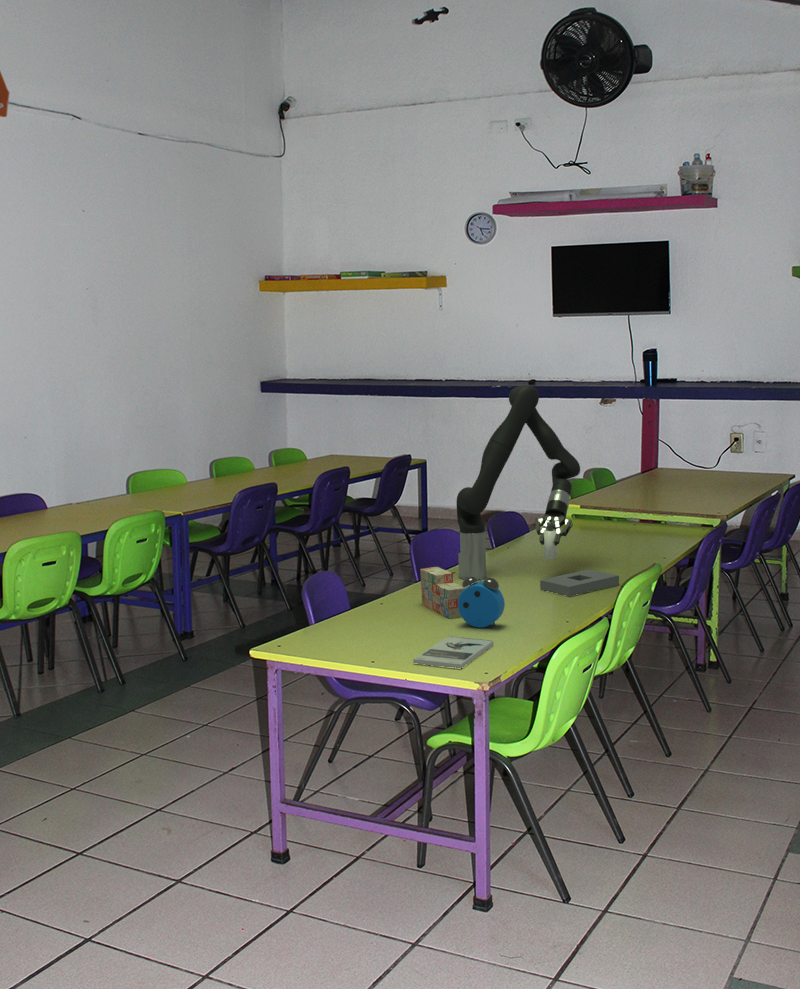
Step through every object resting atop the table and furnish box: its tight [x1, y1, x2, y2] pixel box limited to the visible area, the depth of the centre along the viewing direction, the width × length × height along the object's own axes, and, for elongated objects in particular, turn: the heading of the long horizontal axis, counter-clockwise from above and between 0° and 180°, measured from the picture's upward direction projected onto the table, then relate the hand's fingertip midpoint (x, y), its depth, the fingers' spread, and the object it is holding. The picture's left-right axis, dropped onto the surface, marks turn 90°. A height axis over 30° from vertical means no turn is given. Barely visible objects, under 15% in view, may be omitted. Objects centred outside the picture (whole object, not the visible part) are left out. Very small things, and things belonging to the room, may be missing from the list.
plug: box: [543, 522, 557, 560], centre depth 351 cm, size 4×4×13 cm
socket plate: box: [539, 568, 620, 597], centre depth 341 cm, size 24×14×4 cm, turn 125°
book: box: [413, 635, 494, 668], centre depth 271 cm, size 23×14×2 cm, turn 153°
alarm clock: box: [458, 577, 505, 629], centre depth 297 cm, size 13×6×15 cm, turn 65°
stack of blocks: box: [420, 566, 466, 619], centre depth 318 cm, size 21×6×12 cm, turn 22°
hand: (548, 543), depth 349 cm, fingers closed on plug, 4 cm apart
